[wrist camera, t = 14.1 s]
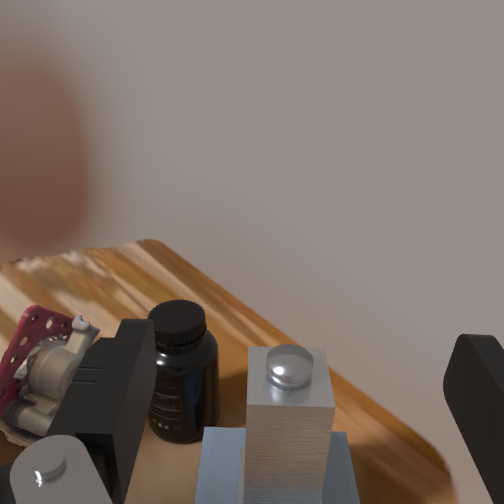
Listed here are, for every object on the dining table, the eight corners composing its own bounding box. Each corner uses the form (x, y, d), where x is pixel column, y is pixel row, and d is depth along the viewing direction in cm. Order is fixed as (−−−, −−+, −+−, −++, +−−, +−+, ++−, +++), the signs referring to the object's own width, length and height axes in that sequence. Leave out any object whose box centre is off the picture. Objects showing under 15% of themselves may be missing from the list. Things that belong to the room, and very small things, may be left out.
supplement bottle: (175, 381, 48) (169, 284, 42) (232, 406, 45) (233, 305, 39) (131, 428, 42) (117, 323, 37) (193, 459, 40) (188, 351, 34)
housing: (323, 531, 30) (346, 397, 25) (236, 528, 30) (239, 393, 25) (314, 456, 36) (331, 330, 30) (239, 453, 36) (243, 327, 30)
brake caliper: (42, 329, 51) (79, 270, 44) (111, 399, 51) (160, 352, 44) (-56, 397, 42) (-29, 338, 35) (28, 482, 42) (73, 440, 35)
